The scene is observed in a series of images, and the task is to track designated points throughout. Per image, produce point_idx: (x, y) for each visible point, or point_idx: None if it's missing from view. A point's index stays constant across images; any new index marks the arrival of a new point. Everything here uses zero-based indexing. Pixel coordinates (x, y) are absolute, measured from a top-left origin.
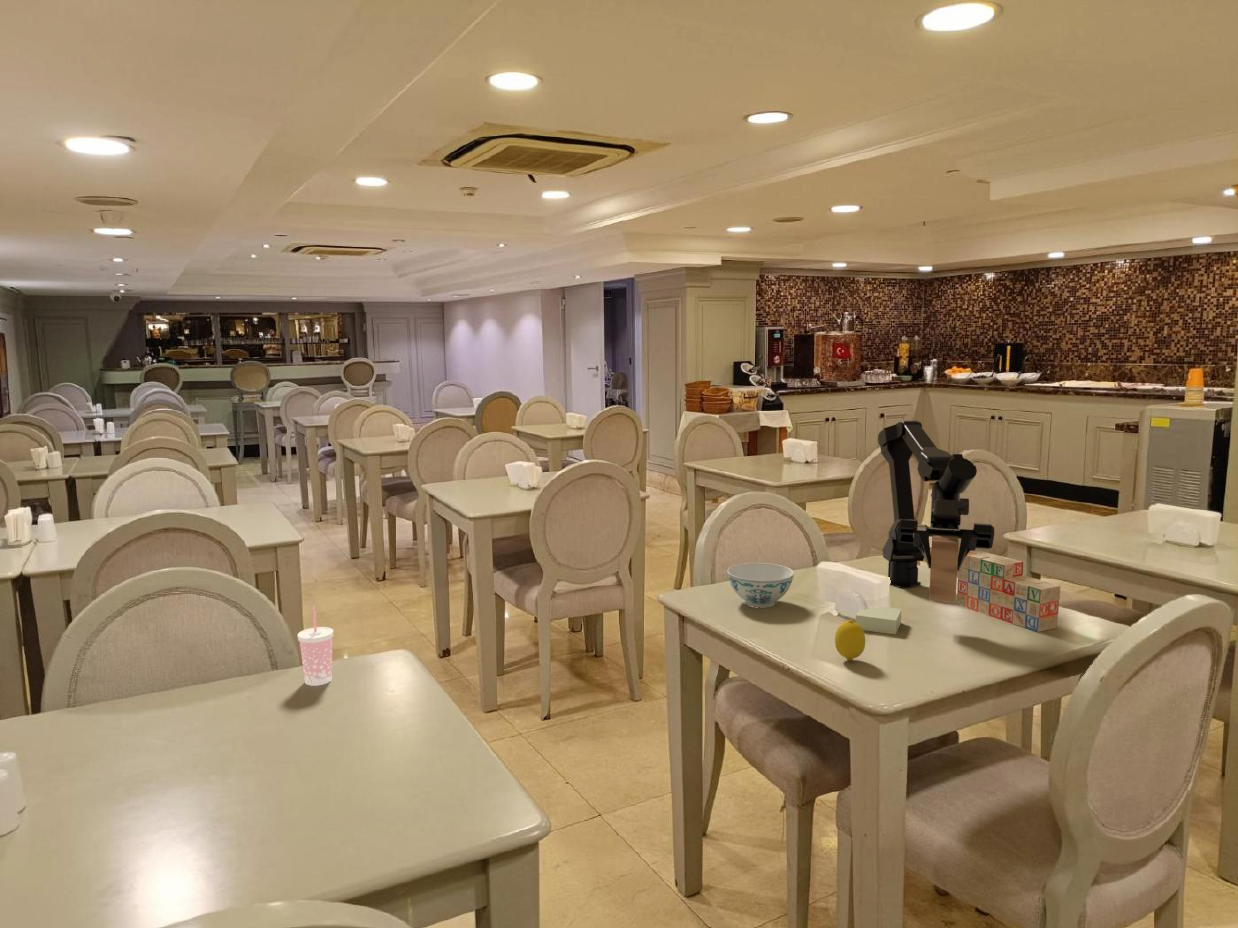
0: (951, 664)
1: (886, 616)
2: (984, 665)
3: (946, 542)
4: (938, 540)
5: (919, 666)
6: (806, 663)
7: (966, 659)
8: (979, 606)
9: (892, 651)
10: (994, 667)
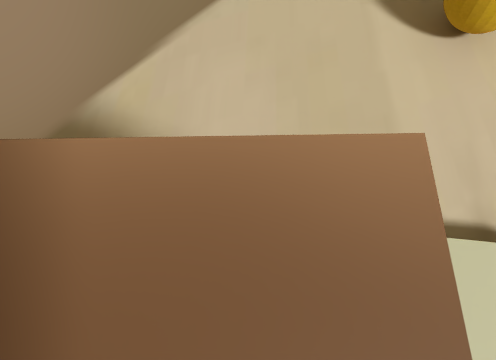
0: (236, 77)
1: (461, 272)
2: (162, 93)
3: (140, 144)
4: (294, 198)
5: (306, 46)
6: None
7: (198, 115)
8: None
9: (380, 111)
10: (141, 89)
